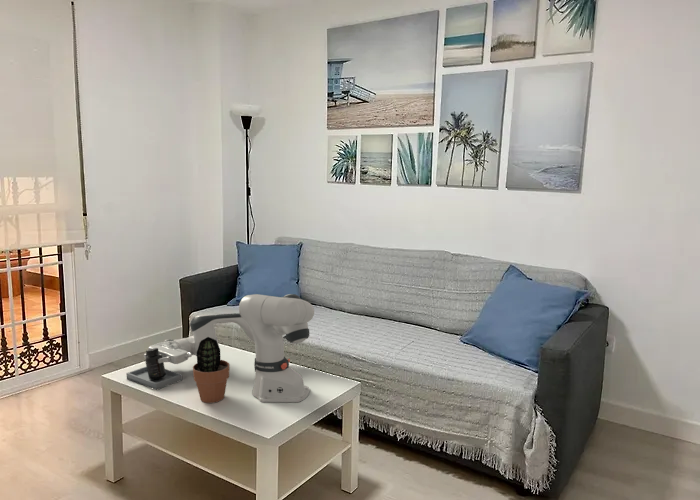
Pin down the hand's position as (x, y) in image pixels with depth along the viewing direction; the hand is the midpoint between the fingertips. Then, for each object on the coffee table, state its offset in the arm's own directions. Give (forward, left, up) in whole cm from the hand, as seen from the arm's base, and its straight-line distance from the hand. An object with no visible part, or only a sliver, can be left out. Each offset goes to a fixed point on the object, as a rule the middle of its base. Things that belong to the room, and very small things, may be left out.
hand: (151, 358), depth 223 cm
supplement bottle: (-3, 0, -8) cm, 9 cm away
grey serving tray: (0, -1, -9) cm, 9 cm away
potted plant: (-32, +11, -9) cm, 36 cm away
